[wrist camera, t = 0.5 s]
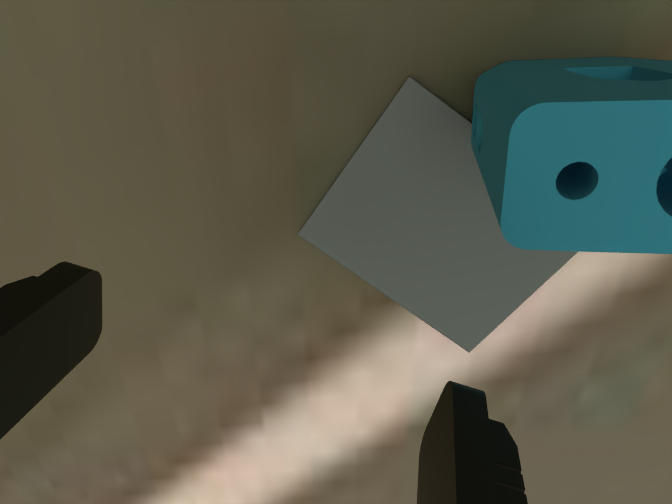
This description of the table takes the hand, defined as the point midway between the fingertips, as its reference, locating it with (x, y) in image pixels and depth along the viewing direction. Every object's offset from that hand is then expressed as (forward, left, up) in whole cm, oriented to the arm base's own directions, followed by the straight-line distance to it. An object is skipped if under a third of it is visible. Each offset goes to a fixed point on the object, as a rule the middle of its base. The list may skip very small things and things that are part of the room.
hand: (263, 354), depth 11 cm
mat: (+3, +9, -28) cm, 30 cm away
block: (-9, +9, -28) cm, 31 cm away
